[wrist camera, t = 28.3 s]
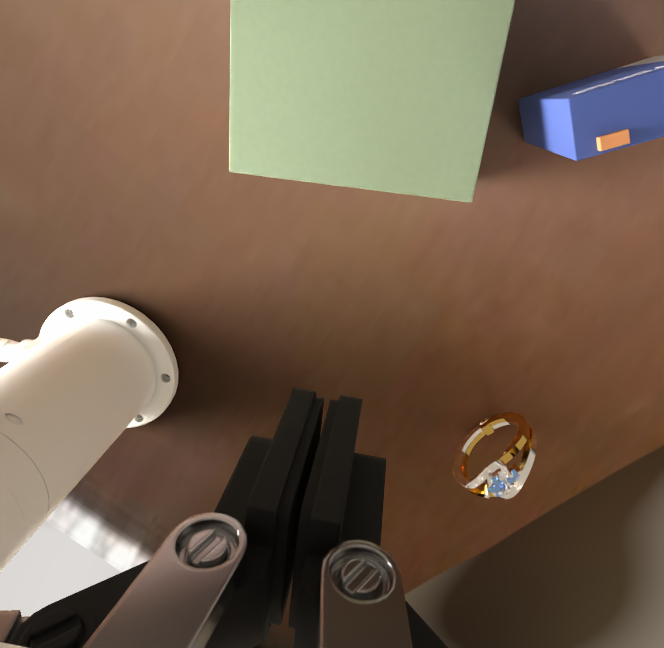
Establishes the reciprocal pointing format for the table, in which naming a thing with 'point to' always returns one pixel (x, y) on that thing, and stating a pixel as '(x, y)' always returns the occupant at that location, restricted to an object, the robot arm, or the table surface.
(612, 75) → the walkman
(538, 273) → the table surface
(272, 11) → the chest lid
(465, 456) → the ring
